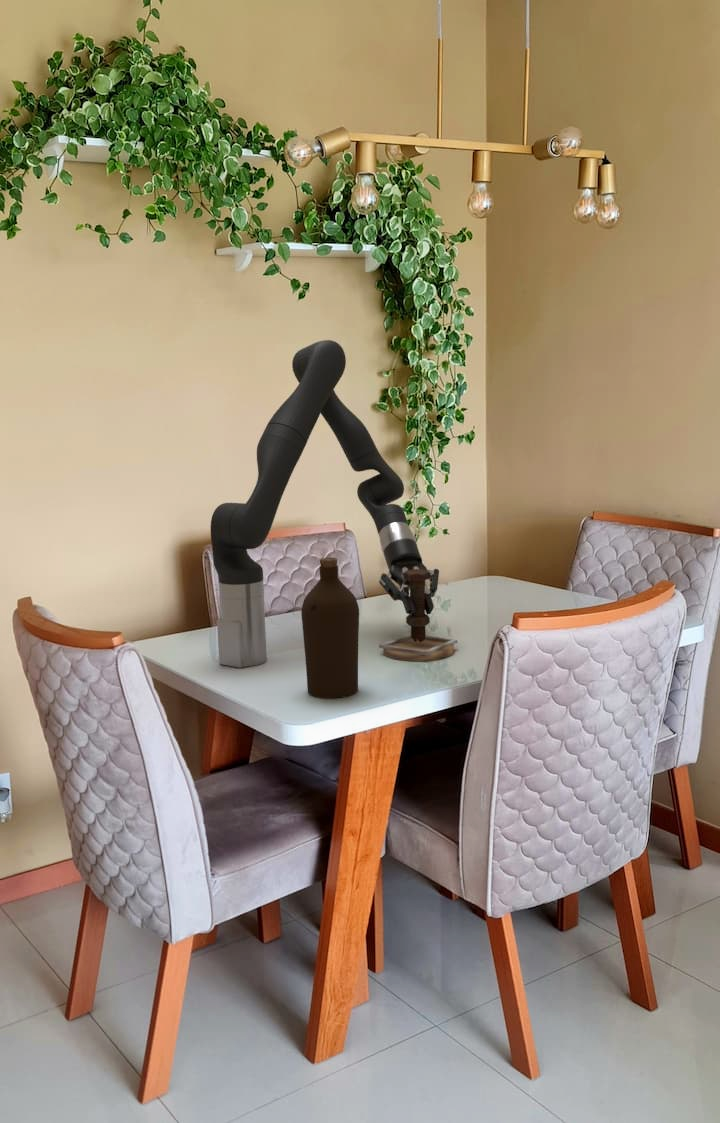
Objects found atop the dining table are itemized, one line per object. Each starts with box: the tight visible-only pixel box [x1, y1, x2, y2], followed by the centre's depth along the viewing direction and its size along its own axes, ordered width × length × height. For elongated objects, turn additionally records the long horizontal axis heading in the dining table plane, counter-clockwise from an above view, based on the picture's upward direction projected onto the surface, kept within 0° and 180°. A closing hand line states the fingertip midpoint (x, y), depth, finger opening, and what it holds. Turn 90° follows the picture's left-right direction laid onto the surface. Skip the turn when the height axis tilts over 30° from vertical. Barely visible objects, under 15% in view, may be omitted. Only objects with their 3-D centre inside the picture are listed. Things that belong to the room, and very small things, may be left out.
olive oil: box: [300, 557, 360, 699], centre depth 182 cm, size 11×11×25 cm
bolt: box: [403, 569, 431, 642], centre depth 209 cm, size 6×5×15 cm
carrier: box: [378, 632, 458, 662], centre depth 211 cm, size 15×15×2 cm
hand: (421, 612), depth 208 cm, fingers closed on bolt, 3 cm apart
